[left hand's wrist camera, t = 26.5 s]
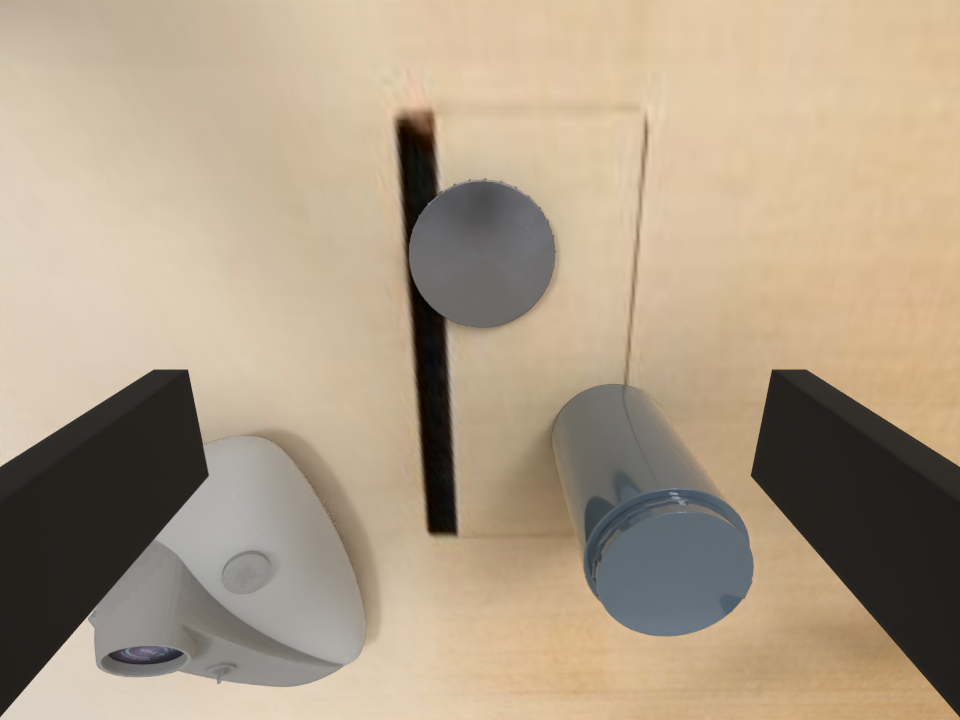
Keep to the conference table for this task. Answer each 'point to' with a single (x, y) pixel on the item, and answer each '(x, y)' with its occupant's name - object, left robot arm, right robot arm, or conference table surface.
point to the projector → (238, 582)
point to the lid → (482, 253)
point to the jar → (648, 515)
